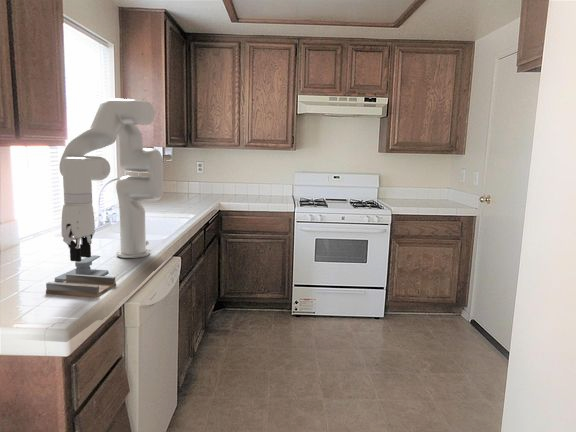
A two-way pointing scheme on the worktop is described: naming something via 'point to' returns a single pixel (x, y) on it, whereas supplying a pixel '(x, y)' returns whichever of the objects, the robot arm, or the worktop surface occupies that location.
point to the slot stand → (81, 285)
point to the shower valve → (83, 269)
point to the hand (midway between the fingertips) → (80, 258)
